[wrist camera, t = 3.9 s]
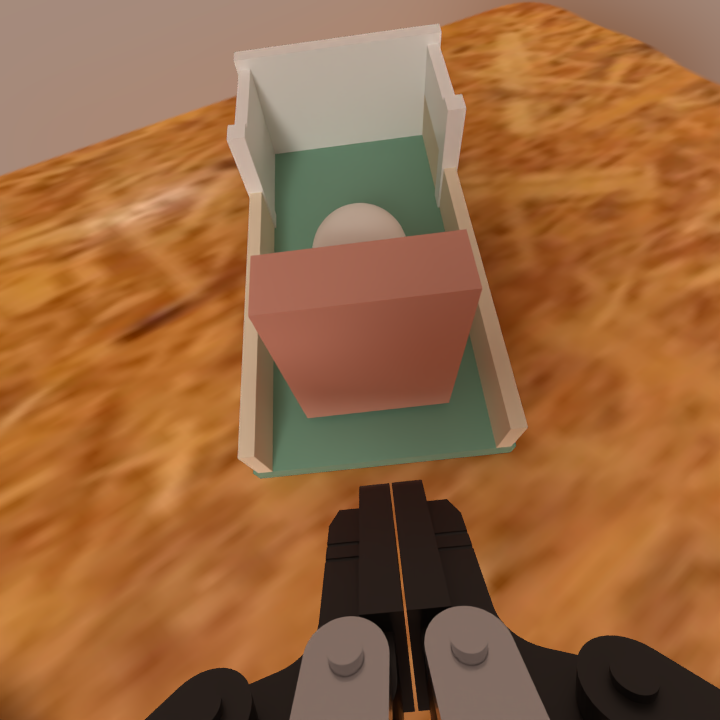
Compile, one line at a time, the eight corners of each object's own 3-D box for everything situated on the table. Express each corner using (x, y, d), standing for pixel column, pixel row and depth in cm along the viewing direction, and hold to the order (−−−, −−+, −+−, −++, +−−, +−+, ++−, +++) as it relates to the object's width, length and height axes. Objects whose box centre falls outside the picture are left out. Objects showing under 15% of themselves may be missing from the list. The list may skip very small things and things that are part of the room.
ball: (302, 290, 22) (281, 227, 18) (358, 236, 23) (350, 167, 19) (369, 336, 20) (362, 278, 16) (425, 275, 21) (431, 208, 17)
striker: (448, 402, 18) (482, 288, 11) (307, 418, 18) (248, 315, 11) (440, 360, 19) (466, 229, 12) (306, 375, 19) (250, 255, 12)
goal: (452, 205, 23) (466, 108, 18) (262, 229, 24) (226, 139, 19) (431, 125, 27) (438, 23, 22) (264, 147, 27) (234, 52, 22)
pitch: (510, 452, 18) (533, 426, 15) (260, 478, 18) (232, 459, 15) (431, 139, 27) (436, 83, 24) (267, 161, 28) (250, 108, 25)
